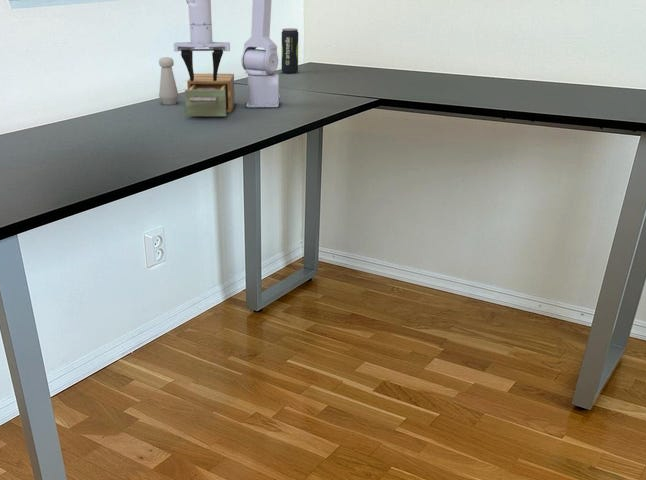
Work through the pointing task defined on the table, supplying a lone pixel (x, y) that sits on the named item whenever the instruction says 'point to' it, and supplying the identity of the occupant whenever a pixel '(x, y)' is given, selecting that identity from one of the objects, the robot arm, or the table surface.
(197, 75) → the tan wooden box
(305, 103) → the table surface
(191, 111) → the drawer
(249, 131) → the table surface
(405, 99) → the table surface
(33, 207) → the table surface
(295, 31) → the beverage can
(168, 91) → the salt shaker
